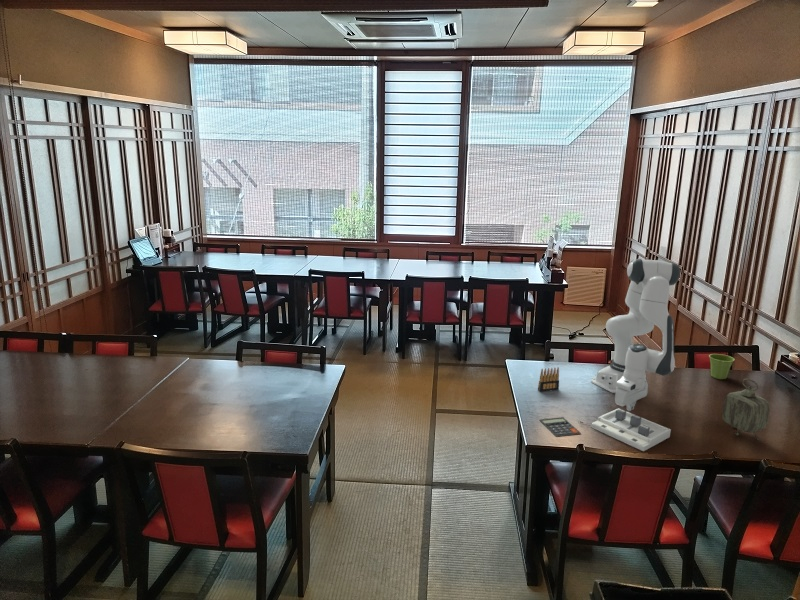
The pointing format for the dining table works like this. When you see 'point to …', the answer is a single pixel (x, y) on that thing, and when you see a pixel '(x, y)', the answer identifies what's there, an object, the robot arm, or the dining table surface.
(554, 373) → the ammunition clip
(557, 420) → the calculator
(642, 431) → the tab
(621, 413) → the tab
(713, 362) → the plant pot
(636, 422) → the tab
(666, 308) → the robot arm
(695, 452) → the dining table surface
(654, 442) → the switch bank
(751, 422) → the tabletop clock
